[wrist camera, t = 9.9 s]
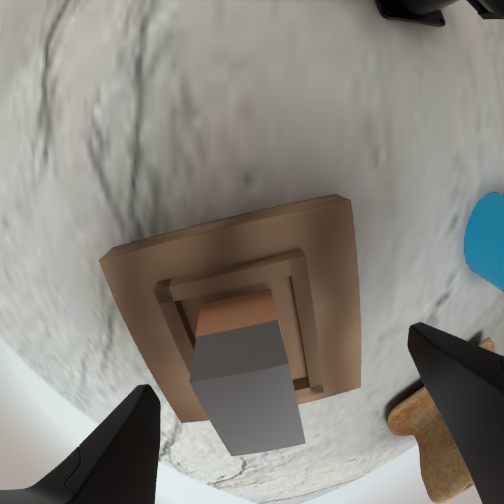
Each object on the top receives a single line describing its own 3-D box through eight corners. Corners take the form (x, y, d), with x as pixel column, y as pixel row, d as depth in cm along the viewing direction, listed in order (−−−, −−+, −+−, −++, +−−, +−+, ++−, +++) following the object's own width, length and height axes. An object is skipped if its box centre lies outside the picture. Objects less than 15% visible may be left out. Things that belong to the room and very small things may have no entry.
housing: (288, 368, 21) (306, 443, 14) (230, 380, 21) (230, 456, 14) (270, 288, 18) (289, 362, 12) (201, 304, 18) (187, 381, 12)
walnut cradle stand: (336, 193, 19) (358, 204, 16) (351, 369, 24) (365, 396, 21) (112, 247, 19) (91, 267, 16) (184, 403, 25) (180, 432, 21)
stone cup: (395, 438, 31) (432, 520, 16) (375, 403, 27) (425, 513, 13) (482, 378, 29) (534, 445, 14) (481, 326, 25) (558, 405, 11)
